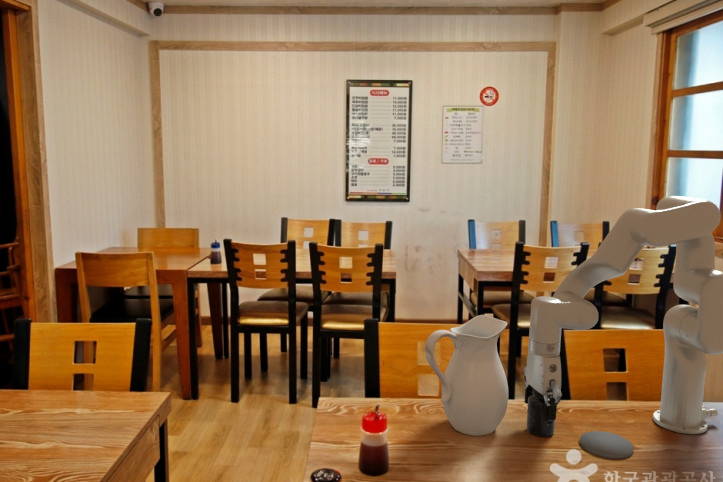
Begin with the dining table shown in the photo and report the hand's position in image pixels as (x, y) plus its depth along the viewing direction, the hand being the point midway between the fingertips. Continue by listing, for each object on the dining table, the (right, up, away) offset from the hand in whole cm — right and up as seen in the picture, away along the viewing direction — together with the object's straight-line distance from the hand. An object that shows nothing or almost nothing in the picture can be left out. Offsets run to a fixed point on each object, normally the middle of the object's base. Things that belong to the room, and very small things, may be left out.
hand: (539, 411), depth 148 cm
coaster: (+14, -7, -7) cm, 17 cm away
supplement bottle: (0, -6, +1) cm, 6 cm away
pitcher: (-19, -5, +2) cm, 20 cm away
